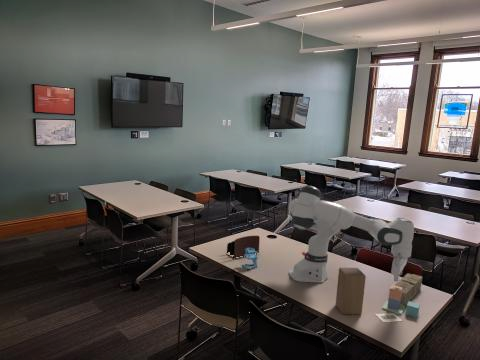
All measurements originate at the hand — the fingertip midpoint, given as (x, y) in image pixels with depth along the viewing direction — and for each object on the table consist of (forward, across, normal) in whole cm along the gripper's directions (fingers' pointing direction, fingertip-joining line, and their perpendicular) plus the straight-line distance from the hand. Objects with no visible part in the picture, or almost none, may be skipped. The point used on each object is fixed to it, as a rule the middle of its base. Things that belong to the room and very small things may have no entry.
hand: (397, 277), depth 177 cm
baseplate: (+16, 0, 0) cm, 16 cm away
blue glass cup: (+16, -3, +83) cm, 84 cm away
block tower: (+17, +19, -2) cm, 26 cm away
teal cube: (+16, -1, -8) cm, 18 cm away
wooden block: (+16, -17, +18) cm, 29 cm away
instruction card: (+16, -12, 0) cm, 20 cm away
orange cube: (+10, 0, 0) cm, 10 cm away
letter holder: (+17, +11, +98) cm, 100 cm away
